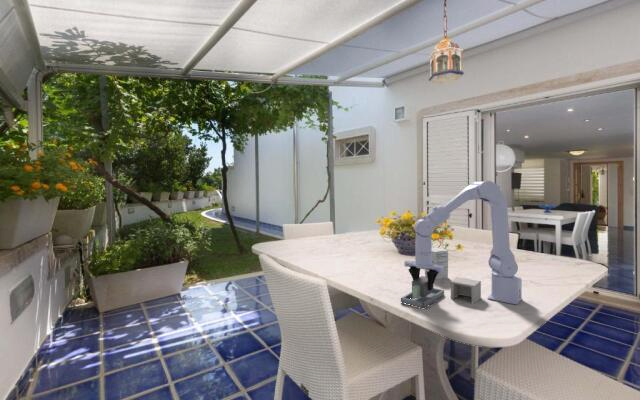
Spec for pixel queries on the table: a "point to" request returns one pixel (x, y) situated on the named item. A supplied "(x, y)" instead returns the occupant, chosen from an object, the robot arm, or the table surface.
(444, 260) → the supplement box
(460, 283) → the sleeve
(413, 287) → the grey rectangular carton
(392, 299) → the table surface
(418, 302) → the tray
